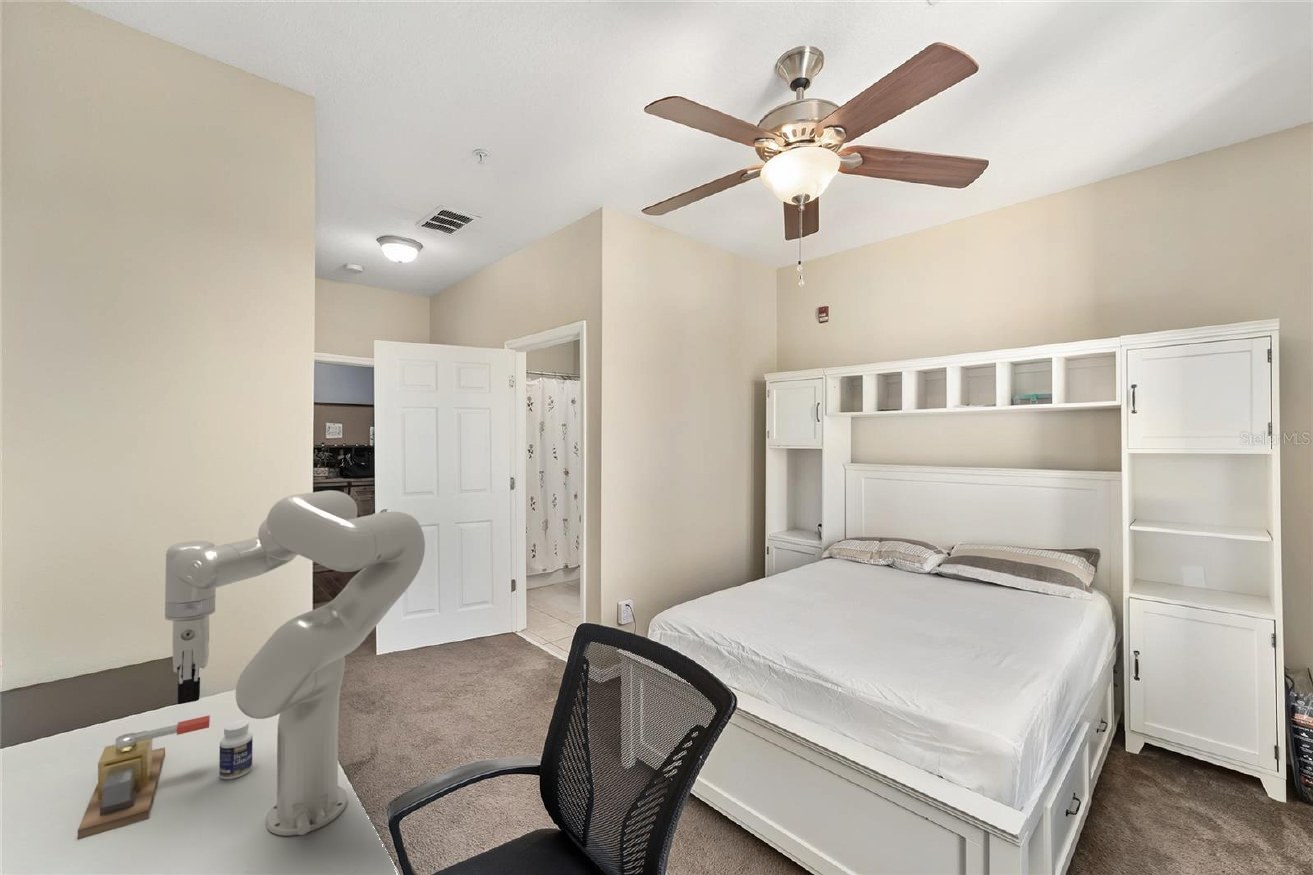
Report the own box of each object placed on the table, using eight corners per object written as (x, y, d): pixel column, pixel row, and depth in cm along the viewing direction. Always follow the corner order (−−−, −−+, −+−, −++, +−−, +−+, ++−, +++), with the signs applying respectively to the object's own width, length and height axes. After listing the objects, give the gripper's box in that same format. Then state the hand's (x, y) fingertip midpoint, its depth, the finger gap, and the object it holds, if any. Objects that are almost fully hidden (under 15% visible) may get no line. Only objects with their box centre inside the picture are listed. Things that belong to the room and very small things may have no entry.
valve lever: (114, 753, 106) (114, 742, 106) (117, 746, 109) (117, 735, 109) (208, 731, 114) (208, 721, 114) (209, 724, 117) (209, 714, 117)
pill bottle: (234, 782, 112) (234, 733, 112) (212, 778, 113) (212, 730, 113) (259, 766, 117) (259, 719, 117) (237, 762, 118) (237, 716, 118)
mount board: (148, 818, 101) (148, 810, 101) (77, 839, 96) (77, 830, 96) (165, 754, 121) (165, 747, 121) (107, 768, 116) (107, 761, 116)
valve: (141, 806, 102) (141, 769, 102) (89, 821, 98) (89, 782, 98) (156, 753, 118) (157, 721, 118) (112, 764, 115) (112, 731, 114)
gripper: (213, 615, 105) (211, 712, 105) (217, 593, 117) (215, 681, 117) (159, 622, 100) (157, 723, 101) (169, 599, 113) (167, 690, 113)
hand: (188, 700), depth 109 cm, fingers closed
